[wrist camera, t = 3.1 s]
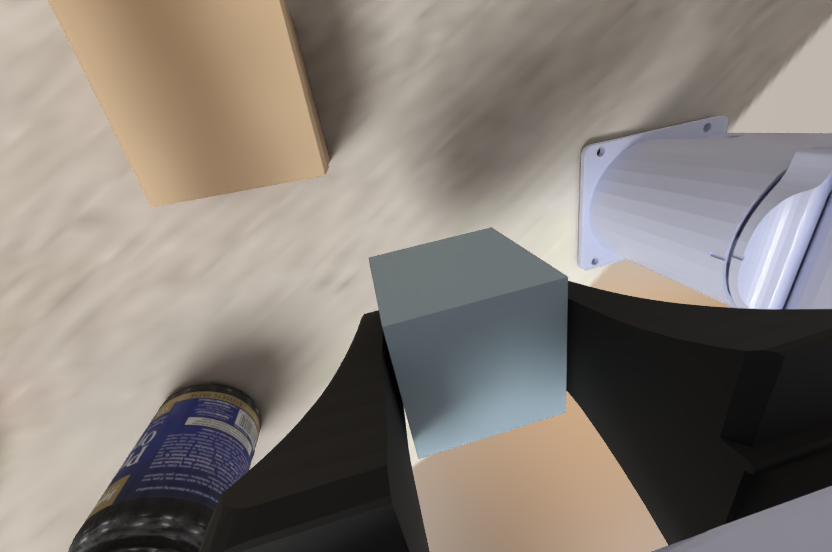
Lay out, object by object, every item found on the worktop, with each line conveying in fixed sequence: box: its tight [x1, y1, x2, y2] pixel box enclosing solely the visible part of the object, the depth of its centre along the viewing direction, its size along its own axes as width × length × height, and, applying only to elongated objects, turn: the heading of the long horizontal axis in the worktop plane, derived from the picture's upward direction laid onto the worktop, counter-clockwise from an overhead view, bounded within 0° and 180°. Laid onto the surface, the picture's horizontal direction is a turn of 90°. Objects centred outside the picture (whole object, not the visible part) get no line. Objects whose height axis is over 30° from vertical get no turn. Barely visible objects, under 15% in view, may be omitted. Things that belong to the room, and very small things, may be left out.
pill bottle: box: [68, 384, 261, 552], centre depth 17 cm, size 6×6×11 cm
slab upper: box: [48, 0, 329, 207], centre depth 12 cm, size 6×6×3 cm
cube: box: [369, 227, 568, 459], centre depth 11 cm, size 4×4×4 cm
